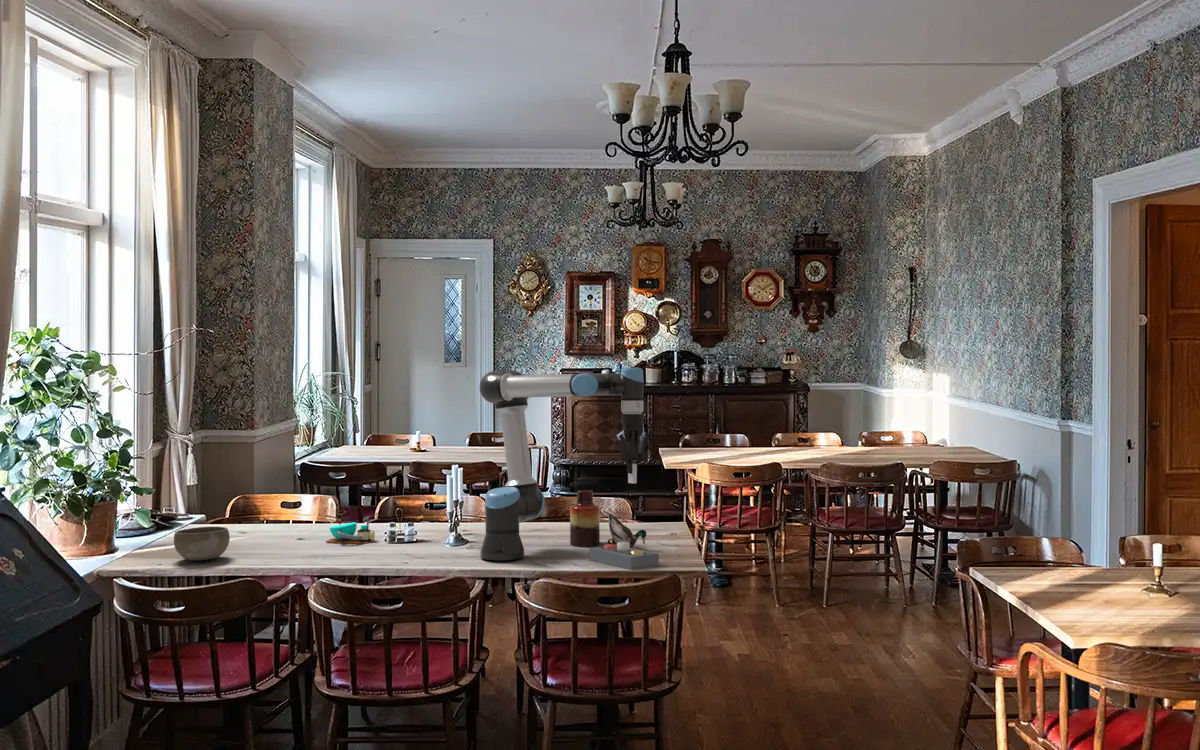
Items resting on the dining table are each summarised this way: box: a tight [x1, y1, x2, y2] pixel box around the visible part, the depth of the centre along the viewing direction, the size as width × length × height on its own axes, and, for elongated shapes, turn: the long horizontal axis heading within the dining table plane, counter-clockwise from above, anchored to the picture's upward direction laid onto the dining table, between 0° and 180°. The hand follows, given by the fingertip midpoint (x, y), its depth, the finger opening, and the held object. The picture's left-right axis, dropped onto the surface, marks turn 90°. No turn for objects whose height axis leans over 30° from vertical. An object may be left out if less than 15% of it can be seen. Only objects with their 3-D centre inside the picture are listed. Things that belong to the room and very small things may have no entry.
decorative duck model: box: [607, 513, 647, 548], centre depth 368 cm, size 15×8×15 cm, turn 60°
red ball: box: [603, 543, 617, 550], centre depth 348 cm, size 4×4×4 cm
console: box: [588, 544, 660, 571], centre depth 342 cm, size 12×22×4 cm, turn 39°
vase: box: [569, 489, 601, 548], centre depth 375 cm, size 11×11×20 cm
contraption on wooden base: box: [325, 510, 376, 545], centre depth 381 cm, size 14×18×15 cm
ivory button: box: [616, 542, 630, 553], centre depth 342 cm, size 4×4×4 cm
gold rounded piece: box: [631, 549, 644, 556], centre depth 337 cm, size 4×4×4 cm
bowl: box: [173, 526, 231, 561], centre depth 350 cm, size 17×18×10 cm
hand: (632, 483), depth 345 cm, fingers closed
